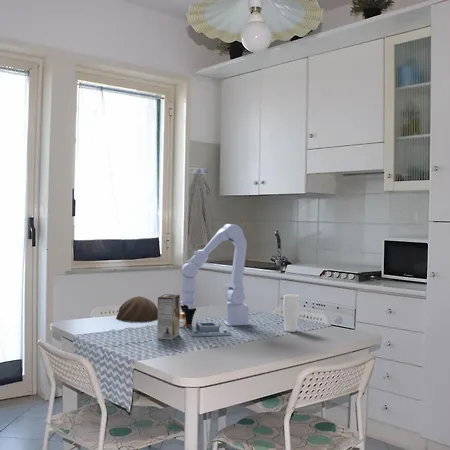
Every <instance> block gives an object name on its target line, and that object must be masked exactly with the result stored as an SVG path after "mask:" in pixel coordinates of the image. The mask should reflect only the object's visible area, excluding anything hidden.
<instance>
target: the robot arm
mask: <svg viewBox="0 0 450 450" xmlns="http://www.w3.org/2000/svg"><path fill="white" fill-rule="evenodd" d="M225 241H230V243H232V245H233V246H234V250H233V259H232V268H231V276H230V282H229V283H228V287H227V290H226V291H225V299H227V302H226V320H225V321H224V320H223V323H224V324H225V325H226V326H229V327H230V326H231V327H232V326H249V325H250V323H249V314H250V313H249V310H250V309H249V306H248V304H247V303H244V301H245V300H246V299H245V298H246V296H245V291H244V290H245V288H244V284H243V282H244V281H243V280H244V272H245V263H246V254H247V247H248V246H247V245H248V243H247V240H246V237H245V234H244V231H243V229H242V228H241V227H240V226H239V225H238V224H235V223H233V224H232V223H225V224H224V225H223V226H222V227H221V228H219V229H218V231H216V233H215V234H214V235H213V236H212V238H211V239H210V240H209V242H207V244H206V245H205V246H204V247H203V248H202V249H198V250H195V251H194V252H193V255H192V257H190V259H187V260H186V263H184V264H182V266H181V268H180V272H181V276H182V277H181V300H180V310H181V313H183V312H184V313H185V319H186V324H192V325H193V322H192V320H194V315H195V313H196V311H197V308H196V307H194V306H195V305H196V276H197V274H198V270H199V269H201V267H202V266H203V265H204V264H205V263H206V262H207V261H208V259H209V254H211V253H212V252H213V250H215V248H216V247H218V245H219V244H220V243H222V242H225Z"/></svg>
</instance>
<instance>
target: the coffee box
mask: <svg viewBox="0 0 450 450" xmlns="http://www.w3.org/2000/svg"><path fill="white" fill-rule="evenodd" d="M180 296H181V294H171V293H169V294H168V293H167V294H165V293H164V294H163V295H161V296H159V297H157V309H158V319H157V333H156V334H157V335H156V336H157V339H158V340H170V341H171V340H174V339H176V338H177V337H178V336H179V335H180V319H179V316H180V313H181V312H180V310H181V307H180V305H181V304H180V301H181V300H180V299H181V298H180Z"/></svg>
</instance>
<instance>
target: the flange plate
mask: <svg viewBox="0 0 450 450" xmlns="http://www.w3.org/2000/svg"><path fill="white" fill-rule="evenodd" d="M184 329H185V330H186V331H187V333H188V334H189V335H190V337H218V336H219V337H222V336H223V337H225V336H226V337H227V336H232V332H231V331H230V330H229V329H228V328H226V326H224V325H223V324H221V323H219V324H218V323H217V322H213V321H212V322H209V321H208V322H196V323H195V325H193V324H192V325H189V326H185V327H184Z"/></svg>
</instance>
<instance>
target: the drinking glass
mask: <svg viewBox="0 0 450 450" xmlns="http://www.w3.org/2000/svg"><path fill="white" fill-rule="evenodd" d="M300 299H301V298H300V295H299V294H297V293H296V294H293V293H287V294H283V299H282V301H283V302H282V304H283V305H282V307H283V322H284V331H285V332H289V333H293V332H297V331H298V321H299V312H300V302H301V301H300Z"/></svg>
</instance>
